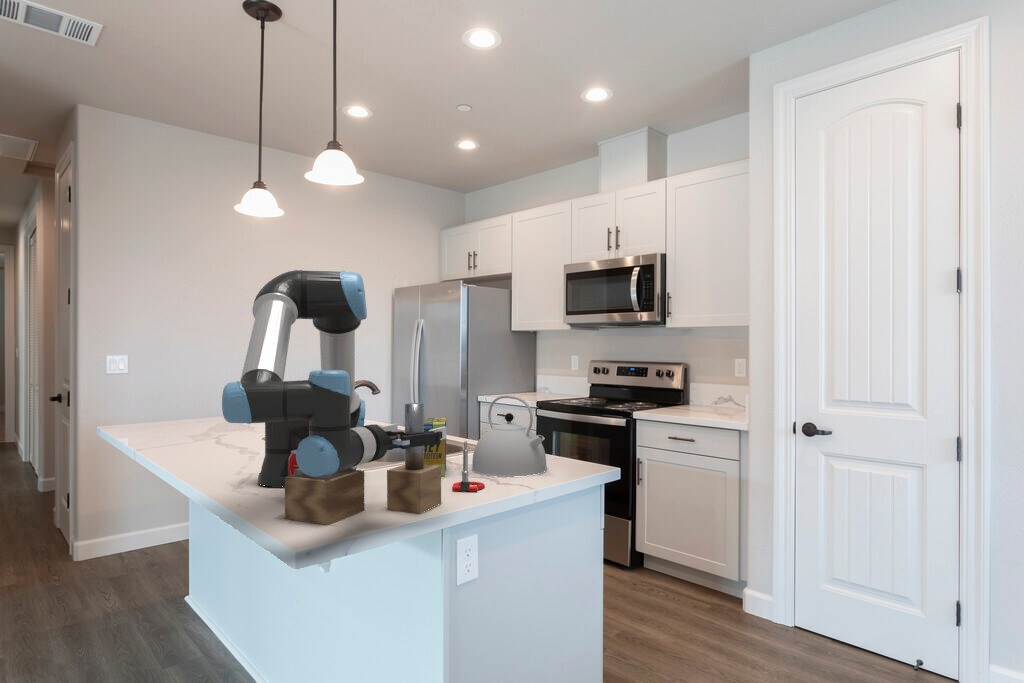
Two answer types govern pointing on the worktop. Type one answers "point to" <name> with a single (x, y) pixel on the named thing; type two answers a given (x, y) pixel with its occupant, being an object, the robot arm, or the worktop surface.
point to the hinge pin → (412, 425)
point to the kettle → (509, 448)
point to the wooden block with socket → (324, 496)
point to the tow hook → (466, 477)
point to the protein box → (437, 452)
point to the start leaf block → (413, 488)
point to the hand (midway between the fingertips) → (420, 430)
